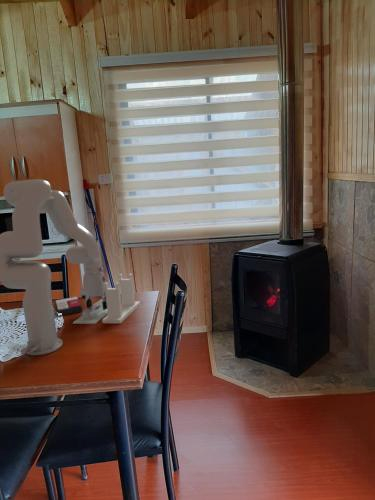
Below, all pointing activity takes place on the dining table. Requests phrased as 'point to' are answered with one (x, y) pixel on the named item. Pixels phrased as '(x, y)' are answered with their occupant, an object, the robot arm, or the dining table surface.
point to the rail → (93, 310)
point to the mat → (92, 321)
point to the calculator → (68, 306)
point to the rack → (113, 300)
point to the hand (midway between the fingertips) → (97, 308)
